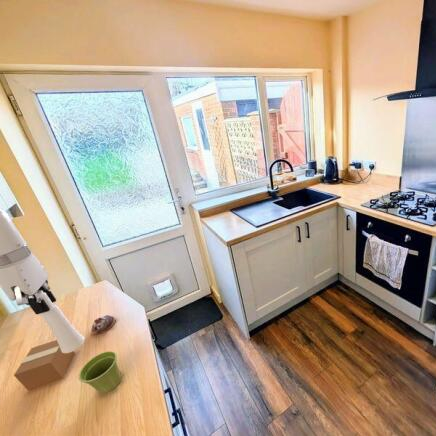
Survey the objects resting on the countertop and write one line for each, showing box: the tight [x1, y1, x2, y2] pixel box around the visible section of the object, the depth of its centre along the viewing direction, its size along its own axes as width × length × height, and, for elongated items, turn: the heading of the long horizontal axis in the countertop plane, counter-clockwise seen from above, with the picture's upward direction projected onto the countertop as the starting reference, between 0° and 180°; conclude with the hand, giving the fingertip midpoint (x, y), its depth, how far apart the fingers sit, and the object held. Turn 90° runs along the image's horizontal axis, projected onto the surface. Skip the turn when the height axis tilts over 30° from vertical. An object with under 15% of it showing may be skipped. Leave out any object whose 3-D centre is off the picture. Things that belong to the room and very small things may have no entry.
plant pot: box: [77, 350, 122, 395], centre depth 74 cm, size 9×9×9 cm
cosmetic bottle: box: [32, 290, 86, 353], centre depth 75 cm, size 6×6×22 cm
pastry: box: [91, 314, 116, 335], centre depth 97 cm, size 8×8×5 cm
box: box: [13, 339, 75, 392], centre depth 80 cm, size 9×10×8 cm
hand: (46, 306), depth 72 cm, fingers closed on cosmetic bottle, 3 cm apart
